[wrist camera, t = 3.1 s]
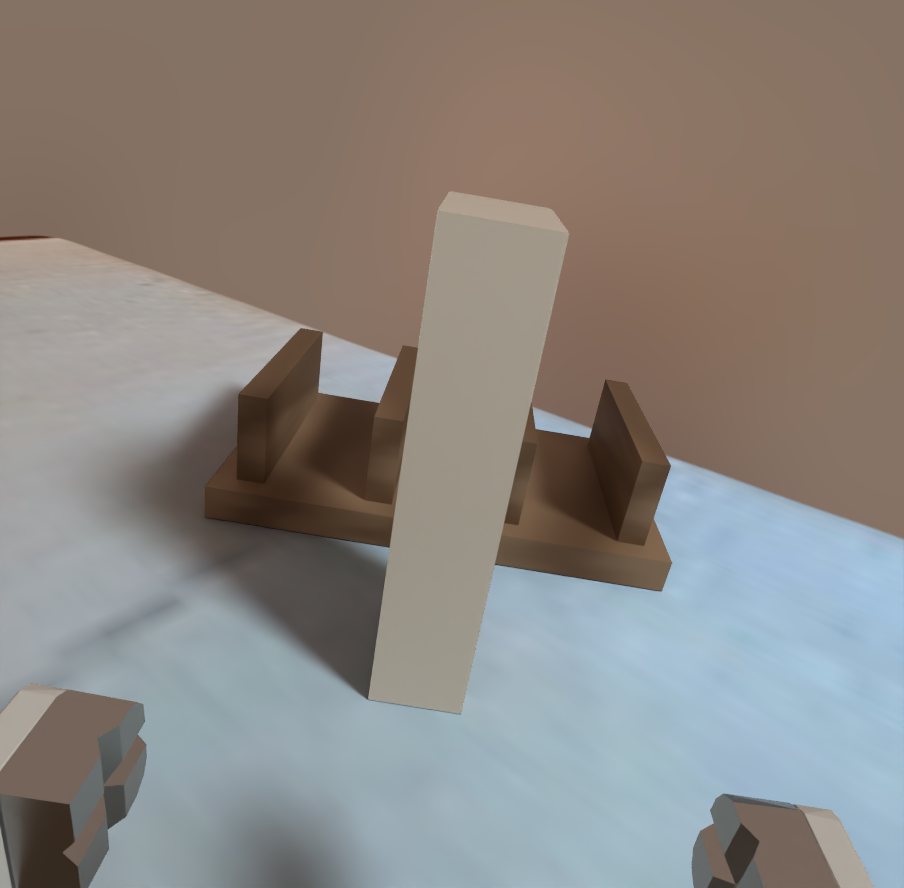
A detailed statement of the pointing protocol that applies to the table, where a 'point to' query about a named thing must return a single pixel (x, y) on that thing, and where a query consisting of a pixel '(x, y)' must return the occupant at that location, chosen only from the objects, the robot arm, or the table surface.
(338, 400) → the drying rack
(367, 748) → the table surface
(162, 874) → the table surface
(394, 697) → the clay strip
